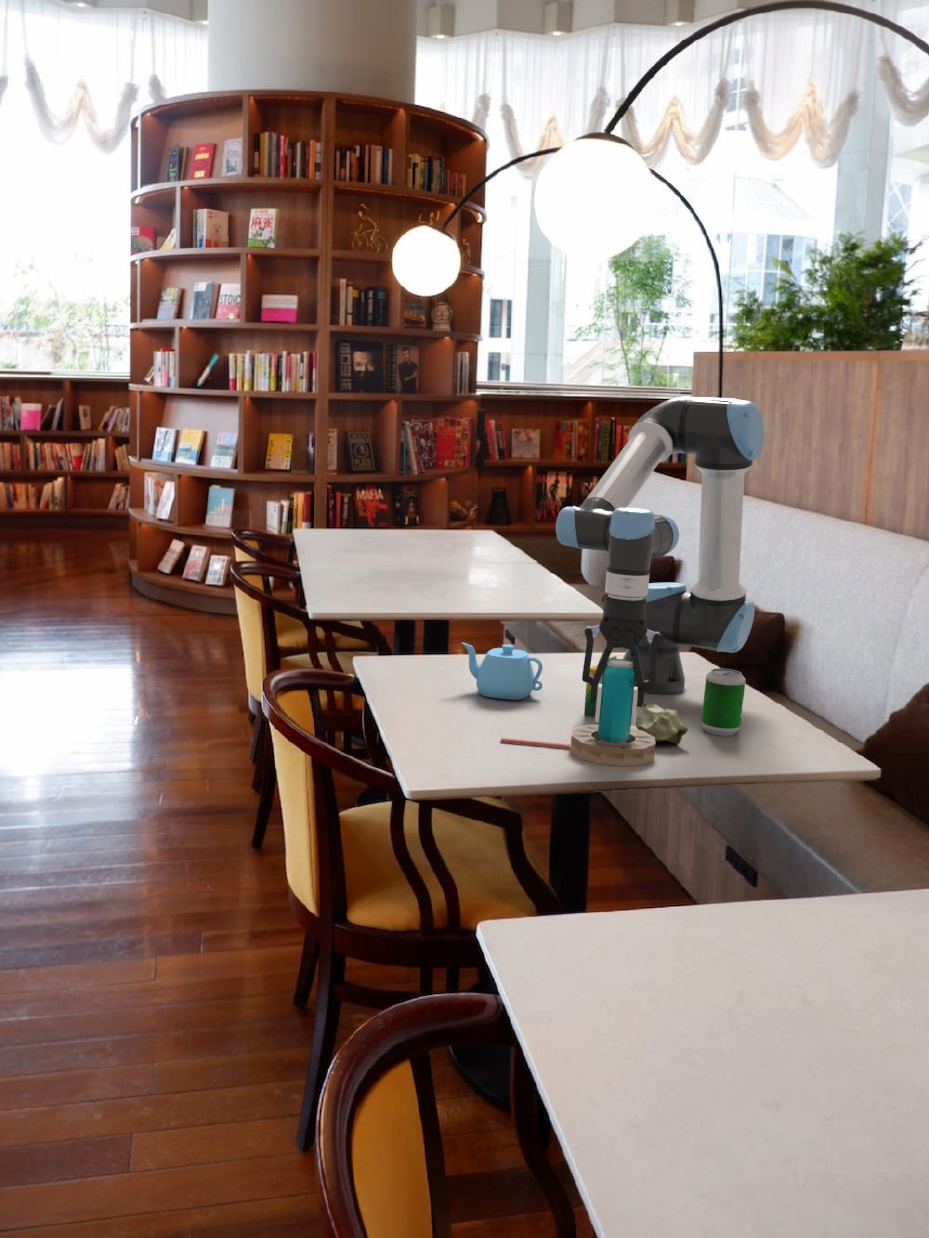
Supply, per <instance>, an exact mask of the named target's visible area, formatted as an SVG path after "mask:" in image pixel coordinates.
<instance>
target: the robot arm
mask: <svg viewBox="0 0 929 1238" xmlns="http://www.w3.org/2000/svg"><path fill="white" fill-rule="evenodd" d="M764 426H765V425H764V419H763V416H762V413H761V410H760V408H759V406H758V405H756V404H755V403H754V402H753V401H749V400H744V399H743V400H742V399H737V398H727V397H702V396H698V397H697V396H691V395H689V396H687V395H685V396H684V395H683V396H677V397H673V398H670V399H668V400H665V401H663V402H661V403H659V404H657V405H656V406H654V407H652V408H651V409H650V410H648V411H647V412H645V413H644V414H643V415H642V416H641V417H640V418H639V419H638V420H636V422H635V423H634V425H633V426H632V427H631V428H630V430H629V433H628V437H627V438H628V441H627V443H626V444H625V445H624V447H623V448H622V449H621V451H620V452H619V454H618V455H617V456H616V458H615V459H614V460H613V462H612V463H611V465H610V466H609V467H608V469H607V470H606V471H605V472H604V474H603V475H602V477H601V478H600V479H599V481H598V482H597V484H596V485H595V486H594V488H593V489H592V491H591V492H590V493H589V494H588V496H587V498H586V499H585V500H584V501H583V502H582V504H581V505H580V506H579V507H578V506H576V505H573V506H566V507H563V508H562V509H561V510H560V512H559V513H558V516H557V517H556V521H555V533H556V538H557V541H558V542H559V543H560V544H561V545H563V546H567V547H572V548H576V549H579V550H580V549H583V550H590V551H600V552H607V564H606V566H607V567H606V573H605V574H606V576H605V587H604V592H605V593H606V594H607V595H605V596H604V598H603V609H602V610H603V611H602V618H601V621H600V622H599V624H597V625H593V626H591V625H586V626H585V629H584V634H585V638H586V639H585V640H586V646H585V654H584V659H583V667H582V676H581V680H582V682H584V683H586V682H587V683H589V684H590V685H591V697H590V701H591V703H596V715H595V717H594V723H598V724H599V717H600V706H601V694H602V684H599V681H600V679H601V676H602V674H603V671H604V669H605V666H606V664H607V661H608V659H609V658H611V654H612V651H613V649H618V648H623V649H626V650H625V653H624V655H623V658H622V659H624V660H629V661H632V662H633V666H634V671H635V684H634V693H633V704H632V715H631V726H632V727H636V718H637V716H636V715H637V708H643V706H644V701H645V693H646V694H647V693H648V694H662V695H663V694H665V695H666V694H675V693H676V694H677V693H680V692H682V691H684V689H685V683H686V677H685V674H684V673H685V672H684V669H683V664H682V659H681V655H680V652H681V645H682V646H688V647H695V648H700V649H704V650H705V649H706V650H710V651H715V652H717V653H720V652H725V653H732V654H733V653H737V652H738V651H740V650H741V649H742V648H743V647H744V645H745V644H746V642H747V640H748V637H749V635H750V634H751V629H752V627H753V623H754V617H755V611H756V610H755V603H754V602H753V601H751V600H750V599H746V596H747V590H746V588H745V587H744V586H743V585H742V583H740V573H741V572H740V568H741V552H742V550H741V549H742V532H743V531H742V529H743V511H744V510H743V509H744V508H743V507H744V491H745V489H744V487H745V474H746V473H747V472H748V471H749V470H750V469H751V468H752V467H753V462H754V460H757V459H759V458H760V456H761V455H762V452H763V447H764V446H763V444H764V442H765V427H764ZM673 454H687V455H688V454H689V455H694V466H695V467H696V468H697V470H699V471H700V473H701V489H700V490H701V492H700V495H701V497H700V514H699V515H700V518H699V519H700V521H699V522H700V523H699V545H698V546H699V548H698V576H697V577H698V578H697V581H696V582H695V584H693V585H692V586H691V587H690V591H688V588H687V585H686V584H685V583H681V582H671V581H670V582H652V583H650V572H651V571H650V569H651V561H652V560H651V559H653V558H660V557H664V556H666V555H667V554H669V553H671V552H672V551H673V550H674V549H675V548H676V547H677V545H678V542H679V540H680V531H679V528H678V525H677V524H676V522H675V520H673V519H672V518H671V517H669V516H666V515H663V514H654V512H653V511H652V510H650V509H648V508H647V509H646V508H640V507H629V506H630V505H631V503H632V502H633V501H634V499H635V498H636V496H637V495H638V493H640V490H641V489H642V488H643V486H644V485H645V483H646V482H647V481H648V479H649V478H650V476H651V475H652V473H653V472H654V471H655V469H656V467H658V465H659V464H660V463H663V462H664V461H666V460H667V459H668V458H669V457H670V456H671V455H673ZM599 632H600V633H601V634H602V636H603V637H604V640H605V641H606V644H605V646H604V649H603V652H602V654H601V657H600V658H599V661H598V664H597V665H598V666H597V668H596V671H595V673H594V676H592V675H589V673H590V668H591V667H592V666H591V664H592V657H593V650H594V649H593V648H594V641H595V639H596V638H597V637H598V634H599Z"/></svg>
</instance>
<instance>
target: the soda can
mask: <svg viewBox="0 0 929 1238" xmlns="http://www.w3.org/2000/svg"><path fill="white" fill-rule="evenodd" d="M704 684H705V685H704V693H703V694H704V695H703V704H702V711H701V712H702V714H701V726H702V727H703V728H704V730H705V731H706V733H709V734H712V735H717V736H722V737H723V736H724V737H725V736H728V737H729V736H734V735H736V732H738V731H740V729H741V725H742V716H743V706H744V705H743V704H744V697H745V689H746V678H745V677H744V675H743V674H742V672H741V671H738V670H735V669H731V668H722V667H720V668H719V667H718V668H713V669H711V671H710V672H708V673H706V675H705V683H704Z"/></svg>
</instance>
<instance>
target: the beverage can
mask: <svg viewBox="0 0 929 1238" xmlns="http://www.w3.org/2000/svg"><path fill="white" fill-rule="evenodd" d="M634 684H635V671H634V666H633V662H632V661H629V660H624V659H623V658H622V659H620V658H616V659H609V660H608V661H607V664H606V666H605V669H604V671H603V679H602V694H601V706H600V717H599V723H598V724H599V726H598V734H599V738H600V741H604V742H608V743H618V744H621V743H626V742H627V740H628V738H629V736H630V728H632V727H631V715H632V704H633V693H634Z"/></svg>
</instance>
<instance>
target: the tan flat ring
mask: <svg viewBox="0 0 929 1238" xmlns="http://www.w3.org/2000/svg"><path fill="white" fill-rule="evenodd" d="M598 726H599V723H598V724H586V725H581V726H579V727H576V728H572V731H571V737H570V749H569V751H570V753H571V754H573V755H575V756H576V757H578V758H579V759H581V760H584V761H589V762H591V763H594V764H599V765H604V766H605V765H606V766H617V767H630V766H631V767H632V766H643V765H646V764H648V763H651V762H652V761H655V754H656V753H655V752H656V751H655V750H656V742H655V737H653V736H651V735H650V734H648V733H646V732H644V731H641V730H638V729H637V728H634V727H631V728H630V736H629V738H628V740H627V742H626V743H621V744H618V743H608V742H604V741H600V738H599V734H598Z"/></svg>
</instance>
